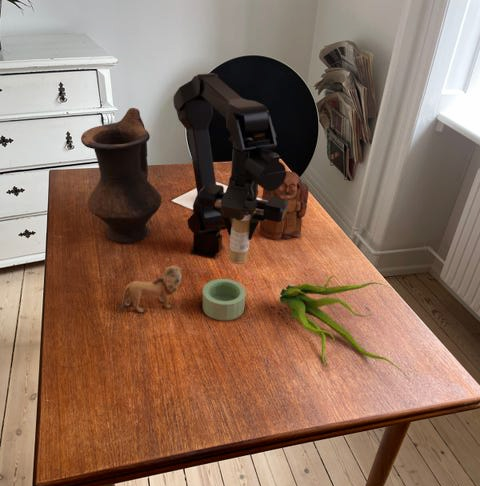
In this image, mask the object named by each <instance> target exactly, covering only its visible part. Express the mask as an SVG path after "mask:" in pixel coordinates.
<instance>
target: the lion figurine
mask: <svg viewBox="0 0 480 486" xmlns="http://www.w3.org/2000/svg"><path fill="white" fill-rule="evenodd" d="M164 270H165V271H164V272H163V273H161V274H160V275H159V277H158V278H157V279H156V280H150V281H143V280H142V281H141V280H133V281H131V282H129V283H128V284H127V285H126V286H125V287H124V291H123V295H122V302H121V305H120V306H119V308H117V311H118V312H119V311H122V310H123V308H124V306H126V307H127V306H130V305H131V302H130V301H128V300H129V299H130V298H132V300H133V307H134V309H136V311H137V312H138V313H144V308H143V307H139V303H140V301H141V298H142V297H141V296H144V297H147V298H157V297H159V298H158V299H159V301H160V302H161V303H163V305H164V307H165V308H166V309H170V308H171V307H172V305H171V304H170V303H169V300H170V295H172V294H174V293H176V292H177V290H178V288H179V286H180V285H181V282H182V280H183V279H182V278H183V274H182V268H181V267H179V266H177V265H174V264H172V265H170V266H167V267H165V269H164Z"/></svg>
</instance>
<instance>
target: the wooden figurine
mask: <svg viewBox="0 0 480 486" xmlns="http://www.w3.org/2000/svg"><path fill="white" fill-rule="evenodd" d="M309 191H310V190H309V186H308V185H307V183H306V182H304V181H303V180H302V179H301V177H300V176H299V175H298V174H297V173H296V172H295V171H290V170H286V178H285V180H284V182H283V184H282V185H281V186H280V187H279V188H278V189H276V190H274V191H266V190H264V189H263V188H262V195H261V199H262V200H267V201H268V200H269V199H270V197H271V196H272V197H277V198H282V199H286V200H287V202H288V210H287V213H286V214H285V216H284V218H283V220H282V222H275V221H270V220H265V221H263V222H262V221H260V222H259V231H260V234H262V235H263V237H266V238H267V239H269V240H275V241H279V240H290V239H291V240H292V238H300V236H301V231H302V224H303V218H304V217H305V215H306V213H307V209H308V202H309V201H308V199H309Z"/></svg>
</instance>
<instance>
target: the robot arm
mask: <svg viewBox="0 0 480 486" xmlns="http://www.w3.org/2000/svg"><path fill="white" fill-rule="evenodd" d="M172 99H173V101H172V102H173V106H174V109H175V111H176V114H177V119H178V121H179V122H180V124H182V125H183V127H184V128H185V130H186V132H187V138H188V145H189V151H190V155H191V162H192V169H193V175H194V181H195V186H196V187H195V188H197V196H196V199H195V201H194V204H193V210H192V213H193V214H191V216H189V217H188V218H187V219H186V221H187V228H188V230H190V232H191V233H192V234H193V235H192V236H193V239H192V240H193V243H192V248H191V250H190V253H191V254H194V255H197V256H198V255H199V256H203V257H206V258H210V259H211V258H212V259H214V258H215V257H216V256H218V255H217V254H219V253H220V251H221V250H222V248H223V235H222V234H221V231H227V234H228V236H231V226H232V218H234V219H236V220H242V219H244V217H245V215H246V216H248V215H249V214H250V215H253V216H252V217H251V220H252V222H251V227H250V232H249V240H250V241H251V240H252V239H253V236H254V235H255V232H256V230H257V228H258V226H259V225H260V221H262V222H263V221H265V220H270V221H275V222H282V220H283V218H284V216H285V214H286V213H287V210H288V202H287V200H286V199H282V198H277V197H272V196H271V197H270V199H269V200H268V201H267V200H257V197H258V194H259V186H260V187H261V188H262V190H263V189H264V190H266V191H274V190H276V189H278V188H279V187H280V186H281V185H282V184H283V182H284V180H285V178H286V171H287V169H286V167H285V165H284V163H282V162H281V161H280V157H281V156H280V154H278V153H276V152H274V151H273V150H271V149H274V148H277V147H278V143H277V140H276V138H277V134H276V131H275V128H274V125H273V122H272V116H271V114H270V112H269V110H268V108H267V107H266V105H264V104H262V103H260V102H258V101H256V100H251V99H245V98H243V97H241V96H240V95H239V94H238V93H237V92H236V91H234V90H233V89H232V88H231V87H229V85H228V84H226V83H225V82H224V81H223V80H222V79H220V76H219V75H218V74H216V73H214V72H209V73H198V74H196V75H194V76H193V78H192V79H190V81H188V82H186V83H185V84H182V85H181V86H179V87H178V89H177V90H176V91H175V93H174V95H173V98H172ZM213 108H214V109H215V110H216V111H217V112H218V113H219V114H220V115H222V116H223V118H224V119H225V120H226V124H225V127H226V129H227V130H228V132H229V133H230V136H229V137H228V141H229V142H230V143H231V144H232V155H231V169H230V171H231V173H230V176H229V179H228V185H227V186H228V187H227V190H226V192H225V193H224V187H223V186H221V185H216V182H217V180H216V173H215V167H214V161H213V159H214V158H213V154H212V147H211V140H210V139H211V138H210V133H209V124H210V123H211V120H212V117H213V114H214V110H213ZM258 137H262V138H258ZM253 138H255V139H253ZM256 138H257V139H256Z"/></svg>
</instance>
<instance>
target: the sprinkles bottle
mask: <svg viewBox="0 0 480 486" xmlns="http://www.w3.org/2000/svg"><path fill="white" fill-rule="evenodd" d="M252 216H253V215H250V214H249V215H248V216H246V215H245V217H244V219H242V220H236V219H234V218H232V226H231V235H229V236H230V237H229V251H228V252H229V253H228V257H227V258H228V260H229V262H230V263H232V264H234V265H243V264H246V263H247V262H248V259H249V258H248V253H249V248H250V241H251V240H249V232H250V227H251V222H252V220H251V217H252Z"/></svg>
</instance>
